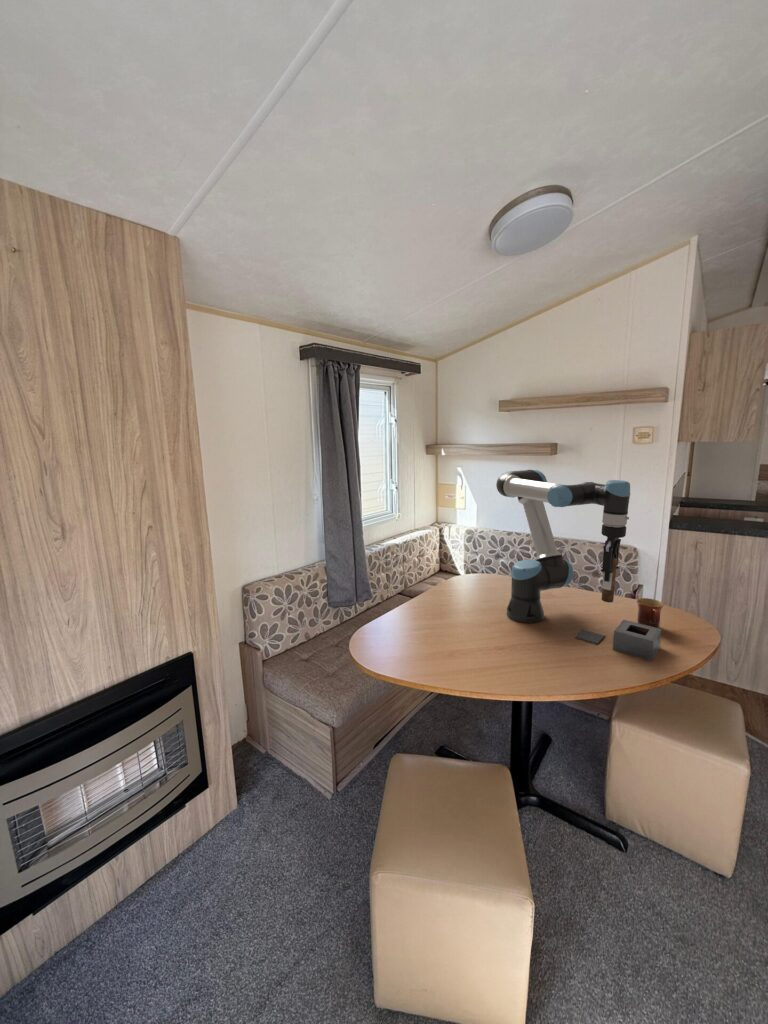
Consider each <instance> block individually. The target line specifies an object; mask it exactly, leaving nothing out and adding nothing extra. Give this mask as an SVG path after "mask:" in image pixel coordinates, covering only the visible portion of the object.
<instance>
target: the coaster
mask: <svg viewBox="0 0 768 1024" xmlns="http://www.w3.org/2000/svg"><path fill="white" fill-rule="evenodd" d="M604 638H605V635H604V634H601V633H597V632H594V631H590V630H586V629H583V628H582V629H581V630H580V631H579V632H578V633H577V634H576V635H575V636H574V639H577V640H580V641H584V642H587V643H590V644H594V645H597V646H598V645H599V644H600V643H601V641H602V640H603V639H604Z"/></svg>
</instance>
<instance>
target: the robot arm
mask: <svg viewBox="0 0 768 1024" xmlns="http://www.w3.org/2000/svg"><path fill="white" fill-rule="evenodd" d="M495 486H496V490H497V492H498V493H499V494H500V495H502V496H503V497H505V498H506V497H507V498H511V499H512V498H517V500H518V503H519V504H521V505H522V506H523V509H524V514H525V516H526V520H527V525H528V527H529V532H530V534H531V535H530V536H531V538H532V542H533V546H534V549H535V552H536V556H535V559H522V560H519V561H516V562H515V563H514V564H513V565H512V567H511V573H510V575H511V585H510V586H511V590H510V592H511V596H510V599H509V602H508V604H507V607H506V616H507V617H508V618H510V619H511V620H513V621H516V622H519V623H526V624H527V623H528V624H534V623H539V622H541V621H544V618H545V611H544V608H543V604H542V602H541V601H542V600H541V591H548V590H553V589H561V588H563V587H566V586H569V585H570V583H572V580H573V578H574V568H573V566H572V563H571V562H570V561H569V560H568V559H565V558H564V555H563V554H562V553H561V552H560V551H558V548H557V545H556V541H555V538H554V534H553V532H552V528H551V524H550V521H549V518H548V514H547V511H546V510H547V509H546V507H545V505H544V504H545V503H549V504H550V505H551V507H554V508H564V507H572V506H581V505H582V506H584V505H598V506H603V510H602V511H603V512H602V520H601V523H602V525H601V535H602V536H604V537H606V540H605V542H604V545H603V547H602V549H603V553H602V554H603V555H602V566H601V570H600V572H602V573H603V574H602V575H603V576H602V583H601V584H602V585H601V586H602V587H601V588H602V589H606V590H611V584H612V574H613V573H612V567H613V560H614V558H617V568H616V570H619V566H618V565H619V559H620V558H619V556H620V548H621V547H620V546H621V542H622V539H621V538H625V537H626V535H627V525H628V524H627V523H628V520H630V516H628V513H629V505H630V496H631V483H630V482H629V481H626V480H619V479H618V480H617V479H612V480H611V479H610V480H607V481H606V482H605V484H603V483H596V482H593V481H583V482H580V483H579V484H578V483H577V484H562V483H561V484H560V483H554V482H553V483H552V482H548V479H547V477H546V476H545V474H544V473H543V472H542V471H541V470H538V469H525V470H510V471H505V472H504V473H501V474H500V475H499V477H498V478H497V480H496V485H495Z"/></svg>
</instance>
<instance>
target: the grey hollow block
mask: <svg viewBox="0 0 768 1024" xmlns="http://www.w3.org/2000/svg"><path fill="white" fill-rule="evenodd" d="M661 638H662V628H655V627H651V626H647V625H643V624H639V623H638V622H635V621H632V620H631V621H630V620H627V619H622V621H621V622H620V623H619V624H618V626H617V627H616V628H615V629H614V630H613V639H612V650H614V651H616V652H617V651H618V652H620V653H624V654H627V655H630V656H634V657H637V658H640V659H644V660H647V661H651V662H652V661H653V660H654V658H655V657H656V655H657V653H658V651H659V649H660V648H661Z"/></svg>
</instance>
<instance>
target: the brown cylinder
mask: <svg viewBox="0 0 768 1024" xmlns="http://www.w3.org/2000/svg"><path fill="white" fill-rule="evenodd" d="M617 566H618V565H617V558H614V560H613V567H612V573H613V574H612V584H611V590H606V589H602V590H601V591H602V592H601V600H602V601H603V602H605V603H614V598H615V597H614V596H615V588H616V587H615V586H616V577H617V569H616V568H617Z"/></svg>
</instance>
